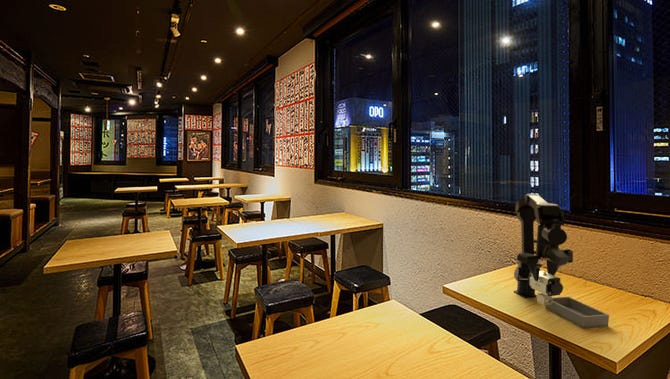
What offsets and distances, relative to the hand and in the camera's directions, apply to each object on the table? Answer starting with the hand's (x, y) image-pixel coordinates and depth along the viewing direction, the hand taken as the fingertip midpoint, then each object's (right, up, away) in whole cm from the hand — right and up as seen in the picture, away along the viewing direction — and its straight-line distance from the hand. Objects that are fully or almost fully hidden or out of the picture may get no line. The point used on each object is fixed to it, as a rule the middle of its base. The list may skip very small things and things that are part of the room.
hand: (543, 280), depth 124 cm
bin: (+11, -13, 0) cm, 17 cm away
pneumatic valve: (+1, -9, +1) cm, 9 cm away
